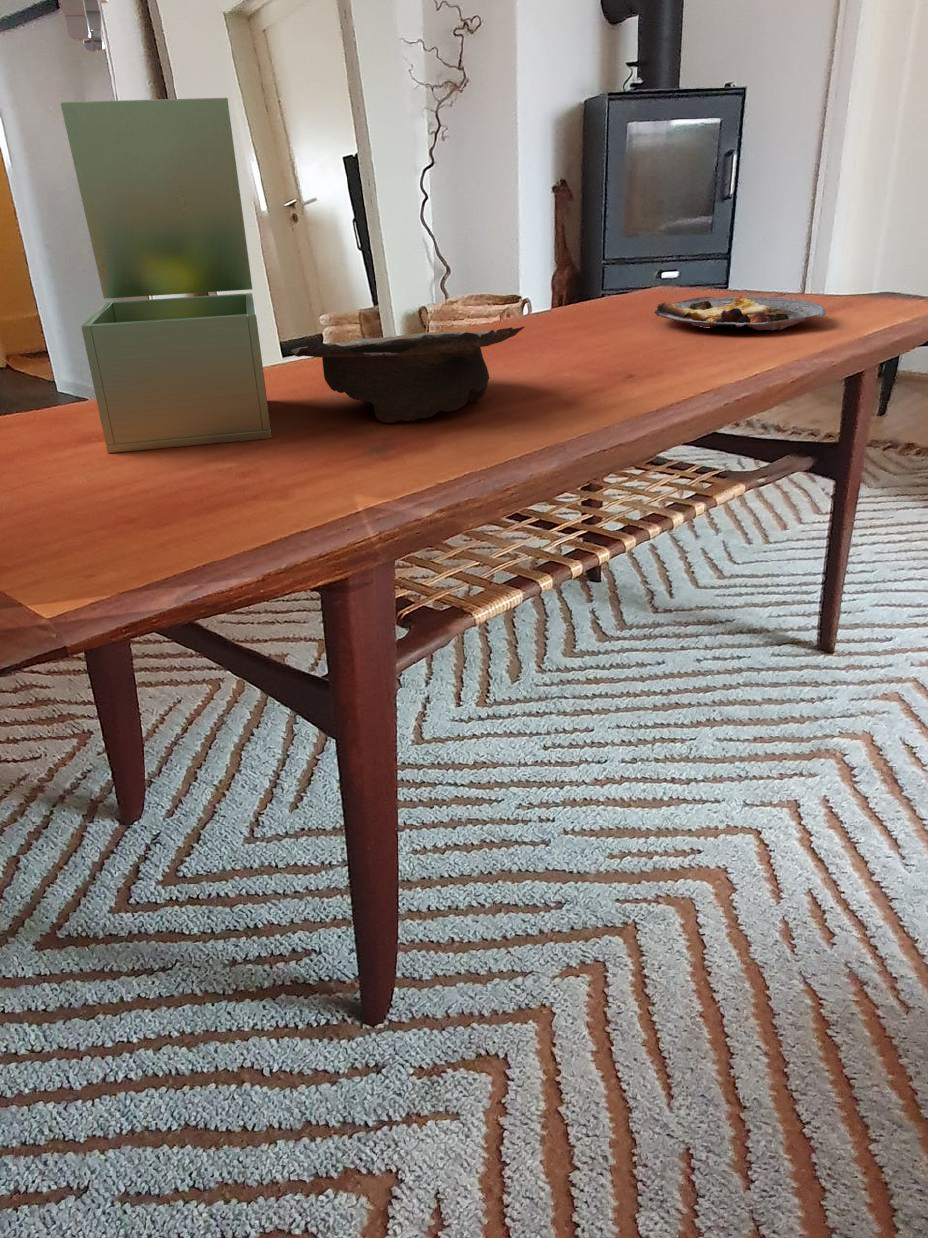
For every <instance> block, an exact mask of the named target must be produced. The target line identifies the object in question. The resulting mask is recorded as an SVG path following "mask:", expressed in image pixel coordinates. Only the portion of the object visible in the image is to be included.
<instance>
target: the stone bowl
mask: <svg viewBox="0 0 928 1238" xmlns="http://www.w3.org/2000/svg"><path fill="white" fill-rule="evenodd" d="M525 328H526V326H521V327H516V328H513V327H512V326H511V327H507V328H500V329H496V330H494V329H491V330H480V331H478V330H477V331H467V330H460V331H453V330H452V331H442V332H433V331H432V332H431V331H430V332H418V333H410V334H402V335H396V336H395V335H394V336H381V337H370V338H359V339H354V340H350V341H337V342H330V343H324V342H319V341H317V342H314V344H313V345H308V346H303V347H302V346H301V347H297V348H292V349H290V352H291V353H293V354H294V357H297V358H300V357H301V358H302V357H310V358H321V360H322V370H323V377H324V381H325V383H326V384H327V385H328V387H329V388H330V389H331V390H332V391H334V392H337V393H339V394H344V393H345V394H346V395H347V396H348V397H349V398H351V399H352V400H354V401H355V400H356V401H362V402H367V403H371V404H372V405H373V410H374V411H373V412H374V416H375V418H376V419H377V420H378V421H380V422H383V423H385V424H394V423H397V422H406V423H407V422H408V423H409V422H415V421H417V420H421V419H428V418H431V417H433V416H435V415H436V414H437V413H438V412H444V413H447V412H448V413H449V412H450V413H451V412H453V411H457V410H458V409H460V408H462V407H464V406H466V404H467V403H470V402H473V401H477V400H479V399H483V398H484V396H485V395H486V394H487V389H488V385H489V381H490V374H489V370H488V366H487V364H486V362H485V359H484V355H483V352H482V349H481V348H484V347H485V348H486V347H488V346H492V345H495V344H500V343H502V342H504V341H506V340H508V339H510V338H513V337H515V336H516V335H517V334H518V333H520V332H521V331H522V330H523V329H525Z"/></svg>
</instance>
